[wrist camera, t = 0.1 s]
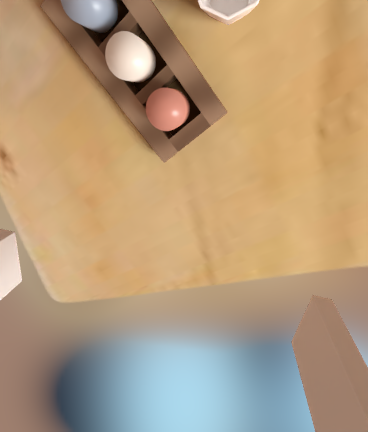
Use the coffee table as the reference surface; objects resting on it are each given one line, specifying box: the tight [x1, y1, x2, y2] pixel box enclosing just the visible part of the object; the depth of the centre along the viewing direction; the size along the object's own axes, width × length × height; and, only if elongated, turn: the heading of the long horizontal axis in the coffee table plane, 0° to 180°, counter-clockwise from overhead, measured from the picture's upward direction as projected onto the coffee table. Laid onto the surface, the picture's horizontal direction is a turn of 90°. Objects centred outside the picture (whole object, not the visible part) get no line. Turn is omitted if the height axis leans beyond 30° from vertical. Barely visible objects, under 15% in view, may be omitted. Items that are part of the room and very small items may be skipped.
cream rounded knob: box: [105, 31, 156, 82], centre depth 29 cm, size 4×4×4 cm
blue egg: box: [61, 0, 118, 33], centre depth 27 cm, size 4×4×4 cm
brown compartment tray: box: [40, 0, 227, 163], centre depth 32 cm, size 22×10×3 cm, turn 39°
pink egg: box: [146, 88, 190, 131], centre depth 31 cm, size 4×4×4 cm
